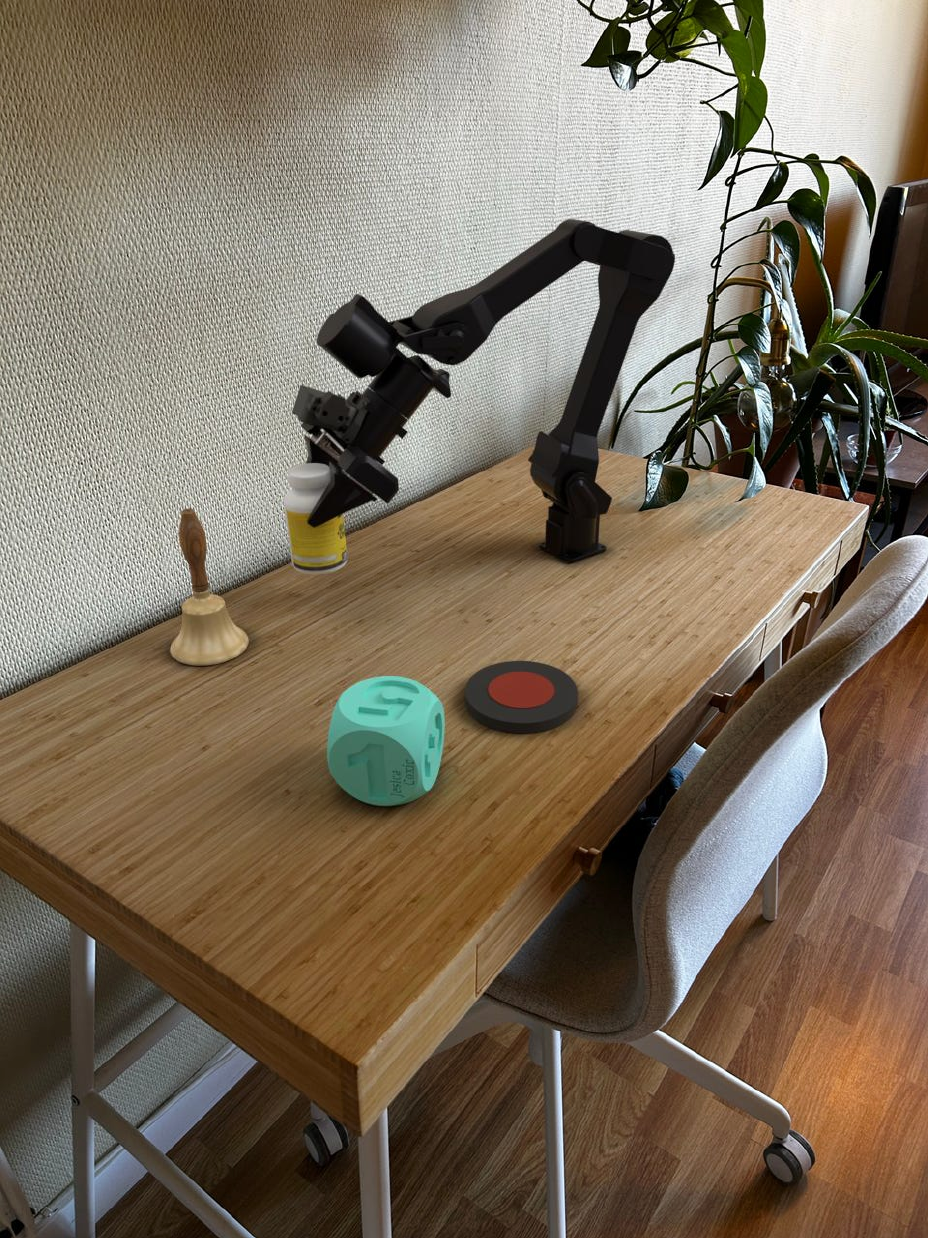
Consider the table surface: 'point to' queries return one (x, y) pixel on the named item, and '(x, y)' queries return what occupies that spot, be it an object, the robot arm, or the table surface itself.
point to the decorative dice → (386, 740)
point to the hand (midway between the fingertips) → (302, 514)
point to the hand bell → (203, 608)
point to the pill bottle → (311, 545)
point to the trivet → (521, 697)
